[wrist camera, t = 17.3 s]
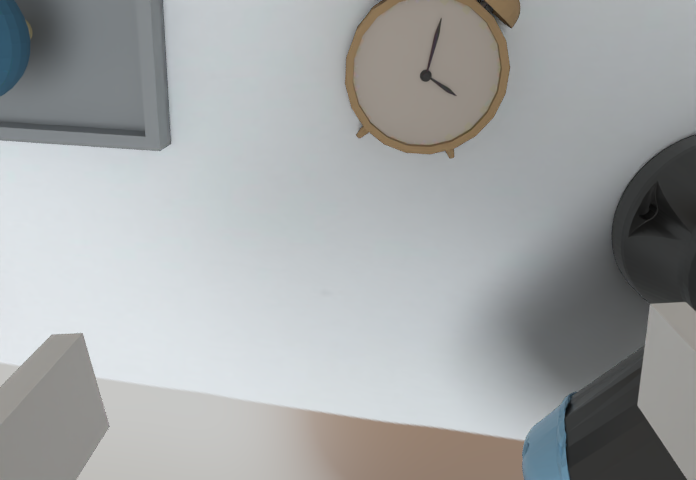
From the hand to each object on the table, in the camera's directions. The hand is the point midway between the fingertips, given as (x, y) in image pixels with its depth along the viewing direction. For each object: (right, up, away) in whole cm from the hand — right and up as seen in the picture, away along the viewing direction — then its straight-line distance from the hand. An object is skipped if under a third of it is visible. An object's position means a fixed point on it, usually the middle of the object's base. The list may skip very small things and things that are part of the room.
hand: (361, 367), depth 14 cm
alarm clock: (+6, +17, +29) cm, 34 cm away
